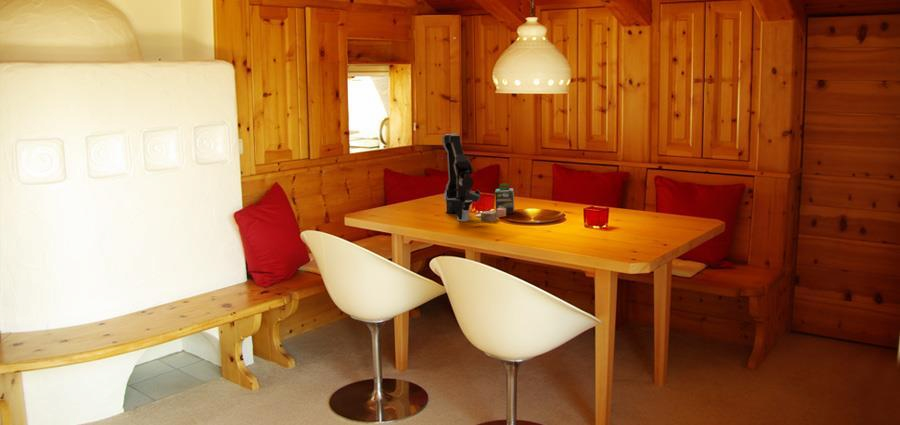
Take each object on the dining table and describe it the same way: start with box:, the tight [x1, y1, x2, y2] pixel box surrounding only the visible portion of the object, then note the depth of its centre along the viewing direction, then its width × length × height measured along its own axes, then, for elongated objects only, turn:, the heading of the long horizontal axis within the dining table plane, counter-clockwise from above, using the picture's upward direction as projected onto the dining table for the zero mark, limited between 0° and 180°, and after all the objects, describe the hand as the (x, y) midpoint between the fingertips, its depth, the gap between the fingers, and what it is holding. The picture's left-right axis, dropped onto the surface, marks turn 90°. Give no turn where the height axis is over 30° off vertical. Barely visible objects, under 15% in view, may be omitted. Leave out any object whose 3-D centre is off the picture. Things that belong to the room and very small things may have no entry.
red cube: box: [497, 208, 507, 218], centre depth 429 cm, size 4×4×4 cm
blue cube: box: [456, 209, 470, 222], centre depth 423 cm, size 4×4×4 cm
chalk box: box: [494, 183, 515, 213], centre depth 439 cm, size 9×9×15 cm
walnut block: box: [480, 210, 498, 223], centre depth 421 cm, size 6×6×4 cm
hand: (463, 217), depth 423 cm, fingers open, 7 cm apart
